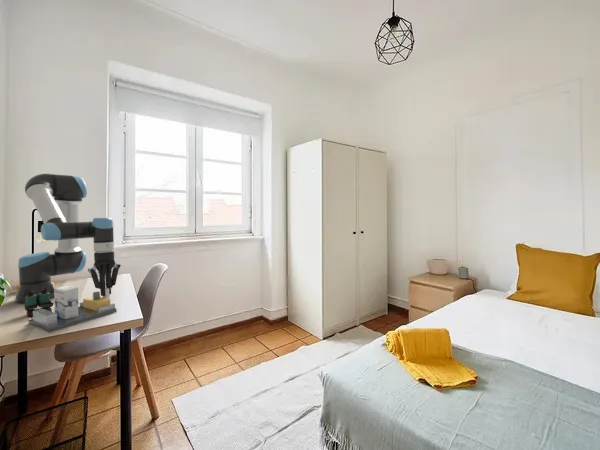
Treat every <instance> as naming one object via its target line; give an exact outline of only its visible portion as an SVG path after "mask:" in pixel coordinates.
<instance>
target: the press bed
mask: <svg viewBox="0 0 600 450" xmlns="http://www.w3.org/2000/svg"><path fill="white" fill-rule="evenodd" d="M38 309H39V308H38ZM114 313H117V308H116V304H115V303H110V304H109V305H106V306H102V307H98V308H97V311H95V310H91V309H88V308H84V307H83V301H81V302H79V306H78V314H79V315H78V316H76V317H72V318H68V319H63V318H60V317H57V313H55V311H52V312H51V311H48V310H45V309H39V310H35V311H33V317H32V318H31V319H28V320H27V321H28V322H27V323H28V325H31V326H33V327H35V328H37V329H40V330H43V331H46V332H48V333H53V332H55V331H59V330H62V329H66V328H68V327H72V326H75V325H78V324H81V323H84V322H89V321H91V320H95V319H97V318H101V317H105V316H107V315H110V314H114Z"/></svg>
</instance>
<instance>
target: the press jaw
mask: <svg viewBox="0 0 600 450" xmlns="http://www.w3.org/2000/svg"><path fill="white" fill-rule="evenodd" d="M82 302H83V307H84V308H88V309H91V310H95V311H97V308H98V307H102V306H106V305H109V304H111V298H110V299H107V298H103V296H101V292H100V291H94V292H92V295H91V296H89V297H85V298H83V299H82Z"/></svg>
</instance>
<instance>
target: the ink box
mask: <svg viewBox="0 0 600 450" xmlns="http://www.w3.org/2000/svg"><path fill="white" fill-rule="evenodd" d="M53 298H54V313H57V317H60V318H63V319H68V318H72V317H76V316H78V315H79V314H78V307H79V287H77V286H72V285H65V286H64V285H63V286H61V287H60V286H59V287H55V288H54V297H53Z"/></svg>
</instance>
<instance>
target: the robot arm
mask: <svg viewBox="0 0 600 450" xmlns="http://www.w3.org/2000/svg"><path fill="white" fill-rule="evenodd" d="M24 185H25V186H24V192H25V195H26V196H27V198H28V199H30V200H31V201H32V202H33V204H34V206H35V208H36V210H37V212H38V214H39V216H40V218H41V220H42V222H43V224H42V225H41V226H40V233H41V238H42V239H43V240H45V241H57V247H56V248H55V249H54V250H53V251H54V253H52V254H51V253H50V252H49V251H43V252H36V253H30V254H26V255H23V256H21V257H20V258H18V265H17V268H18V277H19V280H18V281H19V286H18V290H17V293H16V295H15V298H14V299H15V303H17V304H25V297H26V296H28V294H27V291H34V293H33V295H34V294H36V295H37V294H39V293H42V291H41V290H42V289H44V288H47V292H49V294H50V299H53V298H54V285H53V284H52V280H51V278H52V277H55V276H62V275H69V274H75V273H80V272H82V271H83V270H84V269H85V267H86V264H87V254H86V252H85V251H83V249H82V248H81V247H80V246H79V239H80V240H81V239H90V238H91V239H93V252H94V253H93V260H94V263H93V266H92V267H91V268H88V269H87V272H89V273H90V277H91V279H92V282H93V286H94V288H95V289H98V290H100V291H99V292H100V297H103V298H107V299H110V300H111V298H110V295H112V288H113V286H115V285H116V283H117V280H118V279H117V278H118V275H119V270H120V268H121V266H122V265H121V264H120V263H116V261H115V251H114V249H115V242H114V238H115V237H114V220H113V218H111V217H94V218H93V219H92V221H79V220H80V219H79V218H80V217H79V213H80V212H79V211H80V210H79V209H80V207H79V205H80V204H81V203H82V202H83V199H85V198H86V197H87V195H88V188H87V184H86V181H85V180H84V178H82V177H80V176H76V175H67V174H52V173H39V174H36V175H35V176H33V177H31V178H29V179H28V181H27V182H26V183H25V184H24ZM97 271H98V273H97Z"/></svg>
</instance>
